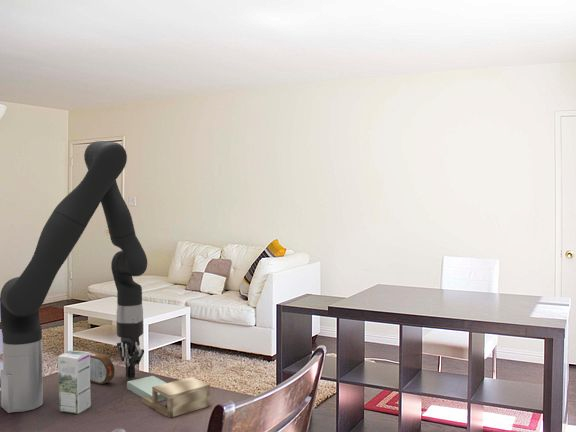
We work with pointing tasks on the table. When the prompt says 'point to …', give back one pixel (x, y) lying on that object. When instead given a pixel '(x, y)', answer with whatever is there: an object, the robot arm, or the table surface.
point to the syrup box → (74, 381)
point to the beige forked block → (180, 397)
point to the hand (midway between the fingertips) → (130, 377)
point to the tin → (100, 368)
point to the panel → (146, 387)
